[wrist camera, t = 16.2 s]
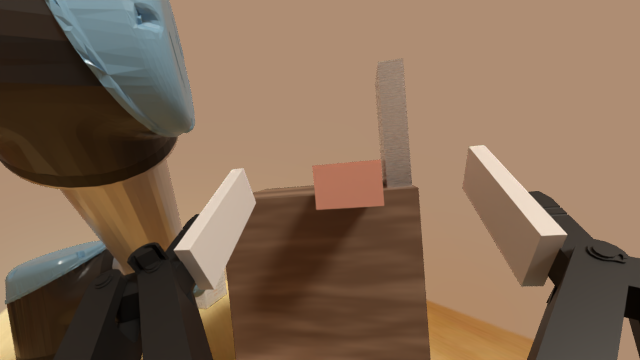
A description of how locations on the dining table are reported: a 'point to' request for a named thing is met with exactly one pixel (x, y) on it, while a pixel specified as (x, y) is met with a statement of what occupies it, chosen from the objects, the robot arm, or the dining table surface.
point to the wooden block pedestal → (329, 279)
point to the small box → (212, 294)
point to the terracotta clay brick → (348, 185)
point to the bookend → (393, 124)
